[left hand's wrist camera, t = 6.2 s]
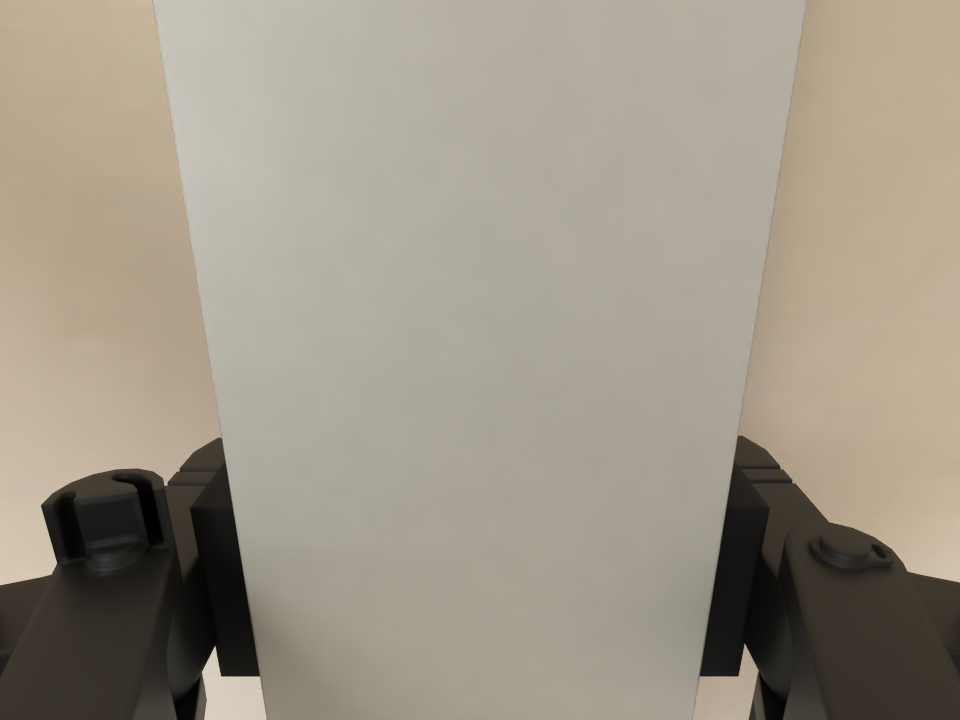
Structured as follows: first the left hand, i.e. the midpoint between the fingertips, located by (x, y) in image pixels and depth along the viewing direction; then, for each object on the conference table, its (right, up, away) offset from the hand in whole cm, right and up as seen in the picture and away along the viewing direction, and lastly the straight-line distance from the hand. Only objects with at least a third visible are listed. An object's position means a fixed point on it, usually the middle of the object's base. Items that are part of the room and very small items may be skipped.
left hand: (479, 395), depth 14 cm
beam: (0, +27, -10) cm, 29 cm away
